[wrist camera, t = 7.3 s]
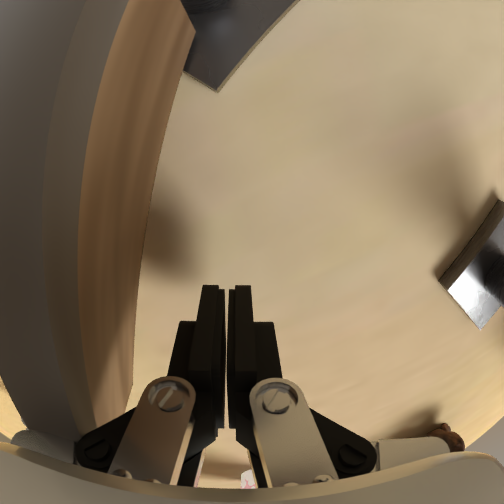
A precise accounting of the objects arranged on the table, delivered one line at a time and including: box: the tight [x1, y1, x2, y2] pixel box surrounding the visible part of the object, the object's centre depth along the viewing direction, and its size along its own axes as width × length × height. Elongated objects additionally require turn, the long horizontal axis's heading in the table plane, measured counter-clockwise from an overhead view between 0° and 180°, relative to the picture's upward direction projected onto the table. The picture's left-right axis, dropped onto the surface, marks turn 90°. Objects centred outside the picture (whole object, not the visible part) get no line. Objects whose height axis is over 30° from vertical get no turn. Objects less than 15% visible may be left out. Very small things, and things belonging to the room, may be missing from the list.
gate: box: [0, 0, 196, 444], centre depth 7 cm, size 2×16×7 cm, turn 163°
